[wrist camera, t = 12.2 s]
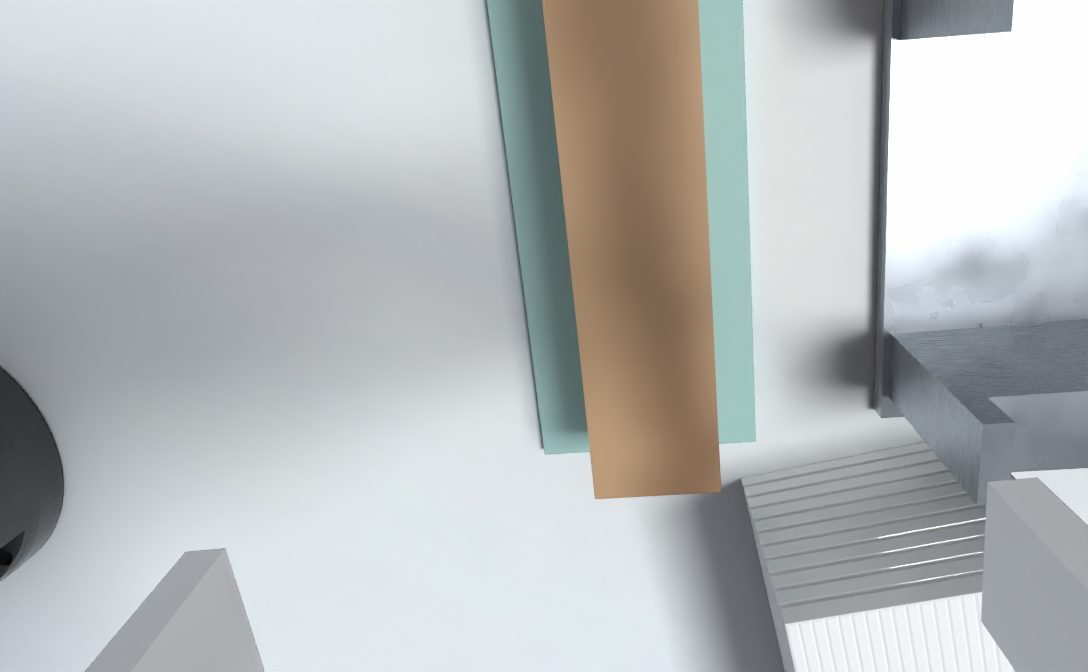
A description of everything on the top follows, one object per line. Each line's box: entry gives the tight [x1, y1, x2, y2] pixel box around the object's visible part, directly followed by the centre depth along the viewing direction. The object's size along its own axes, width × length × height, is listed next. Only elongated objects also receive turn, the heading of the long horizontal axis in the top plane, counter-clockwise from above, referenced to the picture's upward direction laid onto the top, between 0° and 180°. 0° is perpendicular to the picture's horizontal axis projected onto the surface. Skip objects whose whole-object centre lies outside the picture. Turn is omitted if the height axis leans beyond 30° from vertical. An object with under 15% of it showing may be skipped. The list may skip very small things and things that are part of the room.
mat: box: [487, 0, 756, 455], centre depth 33 cm, size 10×24×1 cm, turn 7°
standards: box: [874, 0, 1088, 505], centre depth 28 cm, size 9×20×10 cm, turn 7°
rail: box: [542, 0, 721, 499], centre depth 30 cm, size 5×22×6 cm, turn 7°
